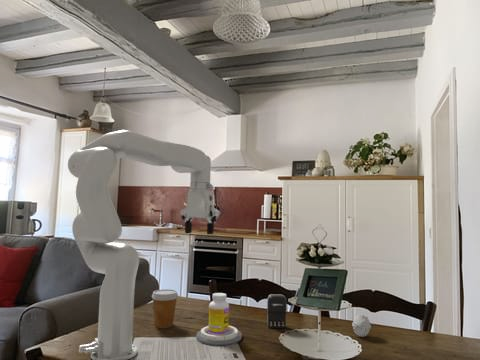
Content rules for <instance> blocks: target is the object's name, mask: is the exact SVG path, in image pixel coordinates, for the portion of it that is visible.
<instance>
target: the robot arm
mask: <svg viewBox="0 0 480 360" xmlns="http://www.w3.org/2000/svg"><path fill="white" fill-rule="evenodd" d="M118 159H126V160H131V161H134V162H135V161H136V162H139V163H143V164H146V165H150V166H154V167H155V166H157V167H158V166H159V167H171V169H172V170H173V171H174V172H176V173H180V174H185V173H186V174H190V177H189V178H190V182H189V191H188V193H187V194H188V195H187V199H186V206H185V207H184V208H183V209H181V210H180V211H179V213H180V216H181V219H182V220H183V223H185V224H184V231H185V234H192V228H193V225H192V224H193V223H192V220H193V219H196V218H197V219H206V220H207V225H206V234H207V235H213V234H214V229H215V224H216V221H217V220H218V219H219V216H220V215H221V211H220V210H218V209H217V208H215V201H214V200H215V199H214V195H213V191H211V189H213V187H214V186H213V184H212V183H211V171H212V170H211V167H212V165H211V162H212V161H211V157H210V155H209V156H208V155H207V154H206V153H205V152H204V151H203V150H201V149H198V148H197V147H193V146H190V145H186V144H181V143H176V142H175V143H174V142H169V141H163V140H159V139H156V138H153V137H150V136H147V135H143V134H141V133H138V132H135V131H131V130H127V129H126V130H125V129H121V130H117V131H111V132H108V133H105V134H103V135H101V136H100V137H98V138H96V139H95V140H93V141H91V142H90V143H88V144H85V146H82V147H81V148H79V149H77V150H76V151H74V152H73V153H72V154H71V155H70V156H69V158H68V160H67V161H68V162H67V168H68V170H69V172H70V175H72V177H75V178H76V179H77V182H76V187H75V197H76V202H77V205H78V207H79V210H80V212H79V213H78V214H77V215H76V216H75V217H74V219H73V221H72V234H73V235H72V236H73V238H74V241H75V242H76V245H77V247H78V250H79V251H80V254H81V256H82V258H83V259H84V262H85V264H86V265H87V267H88V268H89V270H91V271H92V272H95V273H99V274H103V275H105V276H104V279H103V281H102V283H101V287H100V290H99V305H98V307H99V308H98V323H97V325H98V326H97V327H98V328H97V337H95V338H94V341H91V342H90V343H88V344H87V343H84V344H80V345H78V352H79V353H85V354H86V355H87V354H90V358H91V360H129V359H132V358H133V357H135V356H136V355H137V354H138V346H136V345H135V344H133V335H134V334H133V332H134V309H135V308H134V306H135V287H136V278H137V273H138V270H139V265H140V257H139V256H140V255H139V253H138V251H137V250H136V248H135V247H134V246H133V245H131V244H128V243H123V242H117V241H118V240H119V238H120V237H121V236H122V232H123V227H122V223H121V220H120V218H119V215H118V212H117V210H116V208H115V206H114V203H113V201H112V200H113V199H111V198H112V197H111V194H110V191H109V190H110V189H109V185H110V182H111V178H112V176H113V174H114V172H115V170H116V168H117V164H118Z"/></svg>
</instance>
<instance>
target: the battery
mask: <svg viewBox="0 0 480 360" xmlns="http://www.w3.org/2000/svg"><path fill="white" fill-rule="evenodd" d="M287 309H288V308H287V298H286V296H285V295H283V294H269V295H268V297H267V302H266V310H267V313H266V314H267V327H268V328H269V329H286V327H287Z"/></svg>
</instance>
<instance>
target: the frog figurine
mask: <svg viewBox="0 0 480 360" xmlns="http://www.w3.org/2000/svg"><path fill="white" fill-rule="evenodd" d="M351 324H352V325H351V326H352V328H353V332H354V333H355V335H356V336H358V337H361V338H364V337H367V335H368V334H369V332H370V330H371V328H372V325H371V322H370V320H369V319H368V316H367V315H364V314H362V313H360V314H356V316H355V317H354V319H353V320H352V323H351Z"/></svg>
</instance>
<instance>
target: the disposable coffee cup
mask: <svg viewBox="0 0 480 360" xmlns="http://www.w3.org/2000/svg"><path fill="white" fill-rule="evenodd" d="M178 296H179V294H178V291H177V290H175V289H171V288H169V289H168V288H167V289H157V290H154V291H153V292H152V295H151V299H152V305H153V306H152V307H153V317H154V326H155V328H158V329H168V328H171V327H173V325H174V319H175V313H176V312H175V311H176V306H177V300H178Z"/></svg>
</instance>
